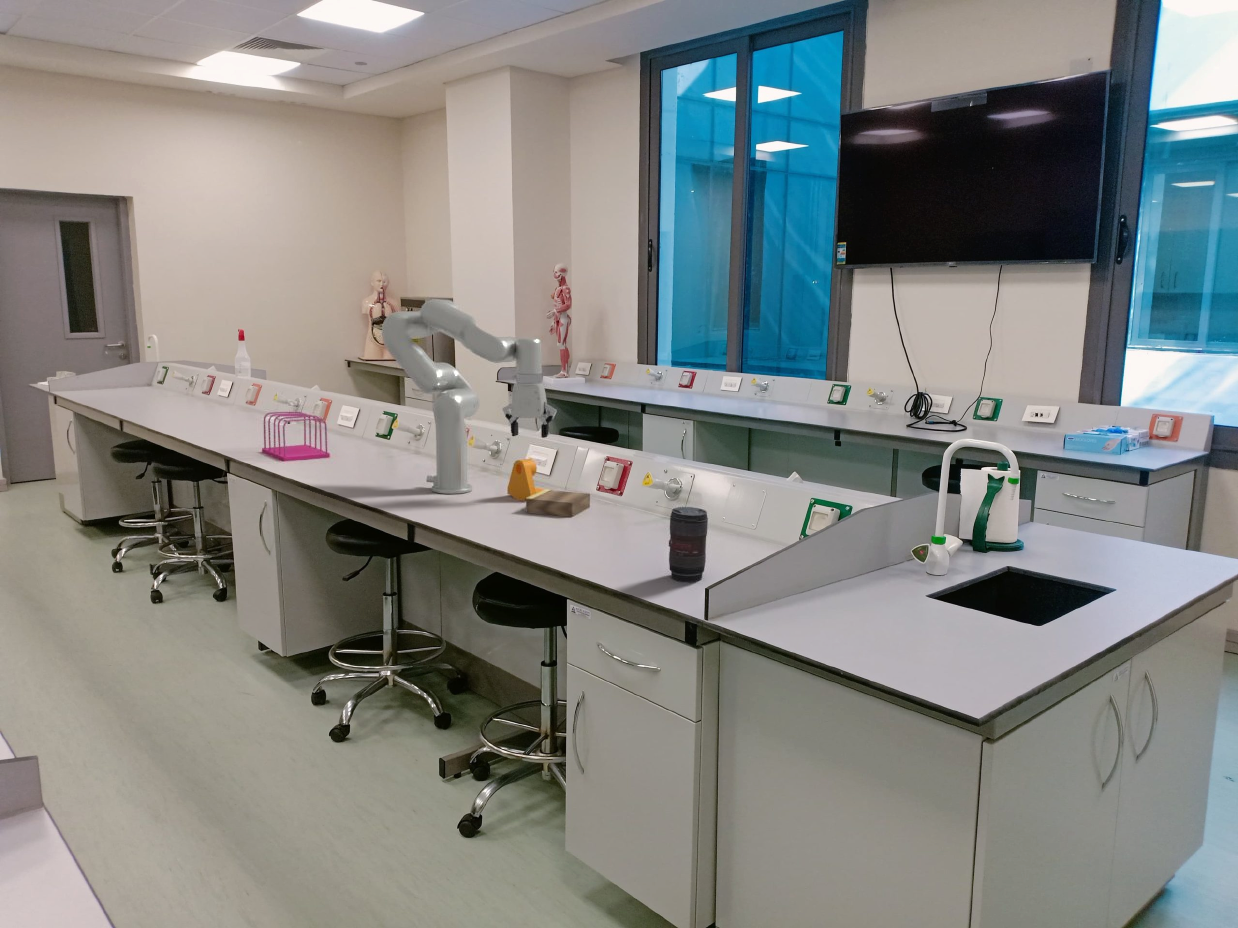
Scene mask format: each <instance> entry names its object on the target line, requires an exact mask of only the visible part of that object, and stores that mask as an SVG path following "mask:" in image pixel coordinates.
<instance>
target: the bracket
mask: <svg viewBox="0 0 1238 928" xmlns="http://www.w3.org/2000/svg"><path fill="white" fill-rule="evenodd" d="M537 468H538V467H537V464H536V462H535V460H534V459H533V458H526V459H518V460H515V461H514V463H513V466H512V469H511V474H510V476H509V477H510V478H509V481H508V485H507V495H510V496H512V499H517V500H519V501H520V500H521V501H523V502H526V498H527V497H530V496H532V495H534V494H536V493H538V492H541V491H543V490H545V489H546V488H540V487H536V486H535V483H534V479H533V476H536V474H537Z"/></svg>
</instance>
